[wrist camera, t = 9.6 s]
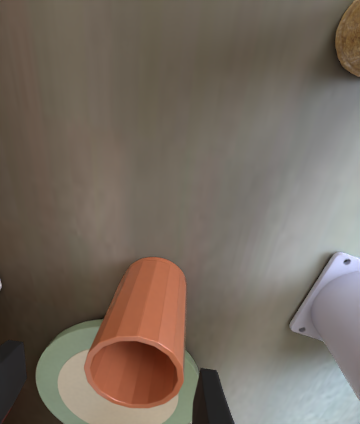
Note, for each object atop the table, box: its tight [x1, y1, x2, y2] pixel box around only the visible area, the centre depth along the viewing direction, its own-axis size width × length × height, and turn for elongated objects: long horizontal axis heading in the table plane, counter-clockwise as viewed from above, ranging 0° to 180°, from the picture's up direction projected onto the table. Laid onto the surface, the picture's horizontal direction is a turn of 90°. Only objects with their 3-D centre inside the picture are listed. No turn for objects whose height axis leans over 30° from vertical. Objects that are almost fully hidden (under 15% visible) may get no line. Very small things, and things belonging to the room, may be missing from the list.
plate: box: [36, 319, 200, 424], centre depth 24 cm, size 16×16×1 cm
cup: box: [84, 257, 187, 408], centre depth 17 cm, size 5×5×8 cm
